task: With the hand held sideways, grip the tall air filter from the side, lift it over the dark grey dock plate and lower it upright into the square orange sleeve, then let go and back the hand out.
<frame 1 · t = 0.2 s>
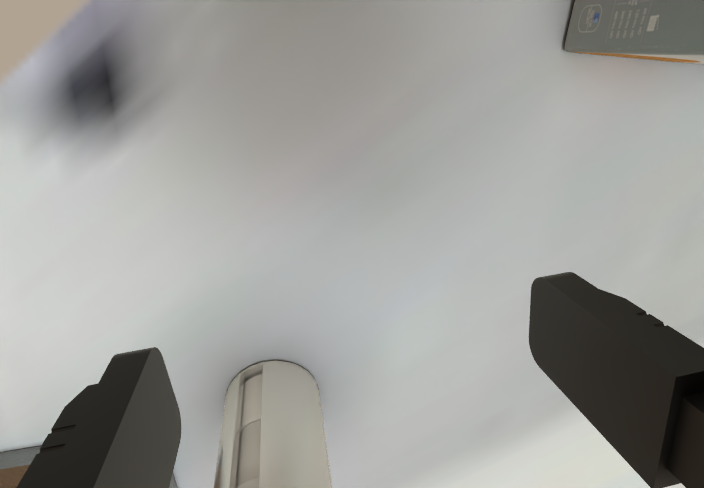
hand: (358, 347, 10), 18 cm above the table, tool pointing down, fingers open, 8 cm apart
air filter: (273, 395, 32), on the table
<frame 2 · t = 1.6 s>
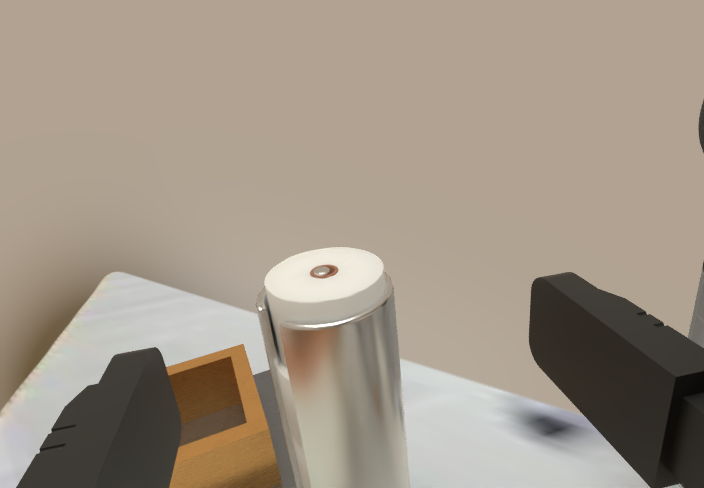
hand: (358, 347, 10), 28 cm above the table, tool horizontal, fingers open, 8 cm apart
dock: (201, 466, 42), on the table
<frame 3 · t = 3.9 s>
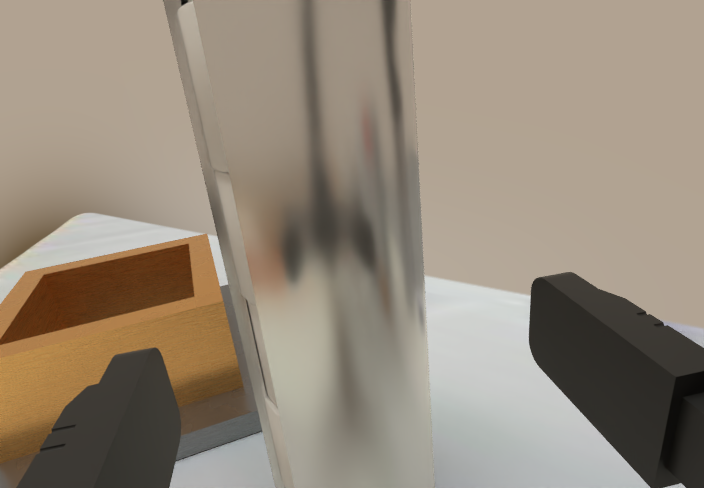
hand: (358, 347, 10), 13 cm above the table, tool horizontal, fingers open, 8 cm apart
dock: (143, 378, 32), on the table
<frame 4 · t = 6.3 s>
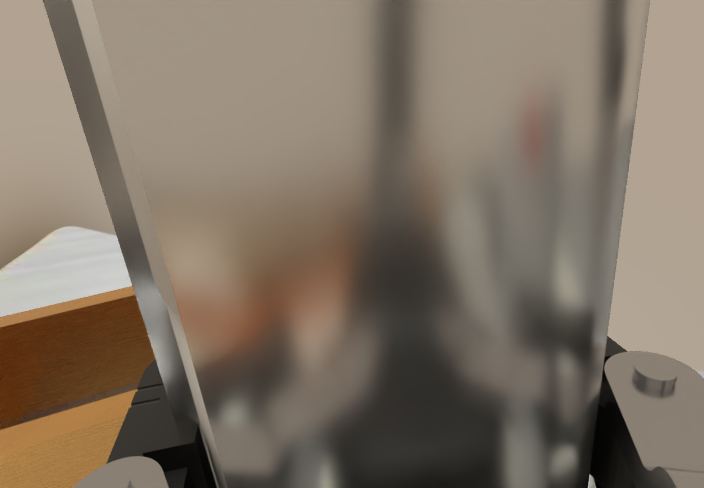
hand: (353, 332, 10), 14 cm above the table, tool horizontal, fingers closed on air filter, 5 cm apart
dock: (109, 465, 25), on the table
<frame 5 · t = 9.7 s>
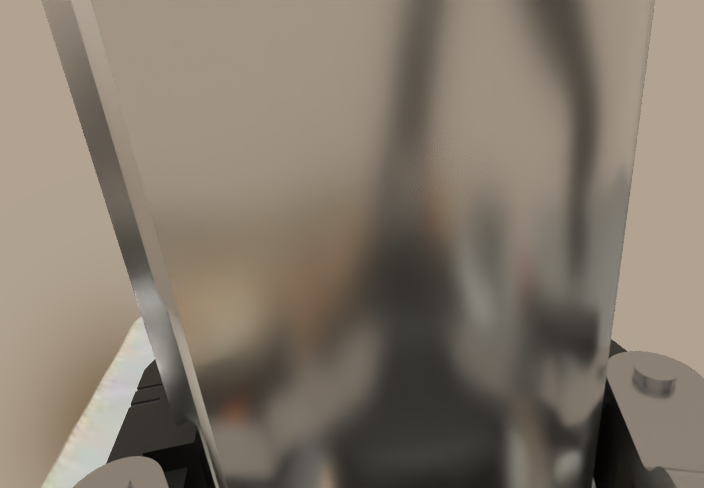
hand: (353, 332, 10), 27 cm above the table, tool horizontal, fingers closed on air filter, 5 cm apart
when the fingers open (16 cm above the table, at t = 13.1 s): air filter drops 1 cm, resting on dock.
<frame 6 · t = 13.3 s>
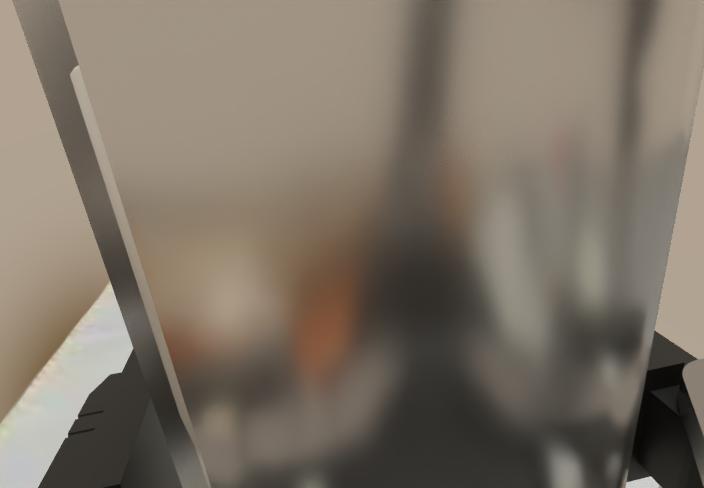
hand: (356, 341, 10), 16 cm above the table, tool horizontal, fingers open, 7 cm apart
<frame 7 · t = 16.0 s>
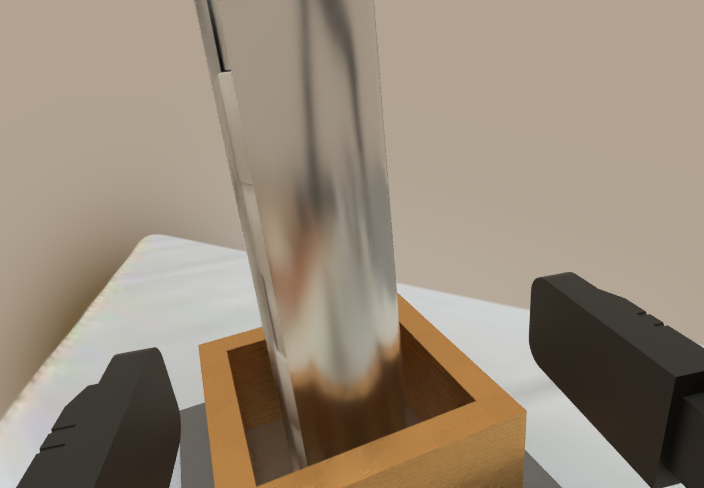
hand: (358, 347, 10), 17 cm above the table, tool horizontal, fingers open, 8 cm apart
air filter: (352, 465, 25), point 1 cm above the table, touching dock
dock: (351, 478, 26), on the table
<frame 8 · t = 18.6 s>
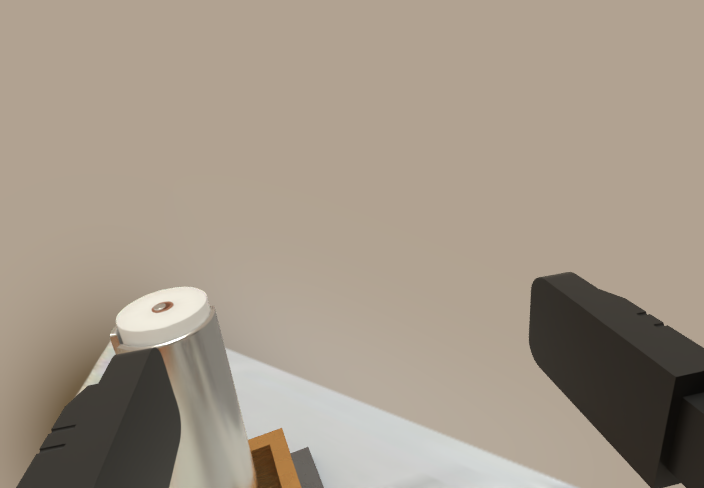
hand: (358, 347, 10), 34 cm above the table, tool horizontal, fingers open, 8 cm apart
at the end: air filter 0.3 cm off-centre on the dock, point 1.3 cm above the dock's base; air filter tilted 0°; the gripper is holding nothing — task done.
